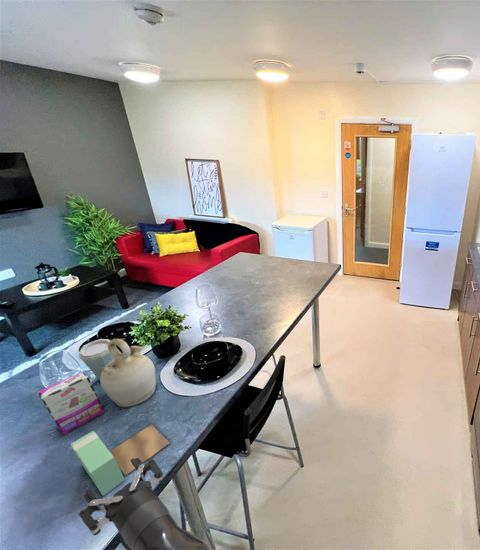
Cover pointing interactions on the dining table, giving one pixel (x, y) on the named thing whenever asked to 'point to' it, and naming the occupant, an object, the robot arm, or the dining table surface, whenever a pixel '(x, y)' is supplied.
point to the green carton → (98, 462)
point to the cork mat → (139, 448)
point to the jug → (128, 375)
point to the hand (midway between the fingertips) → (112, 475)
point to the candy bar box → (72, 402)
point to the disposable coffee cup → (96, 356)
